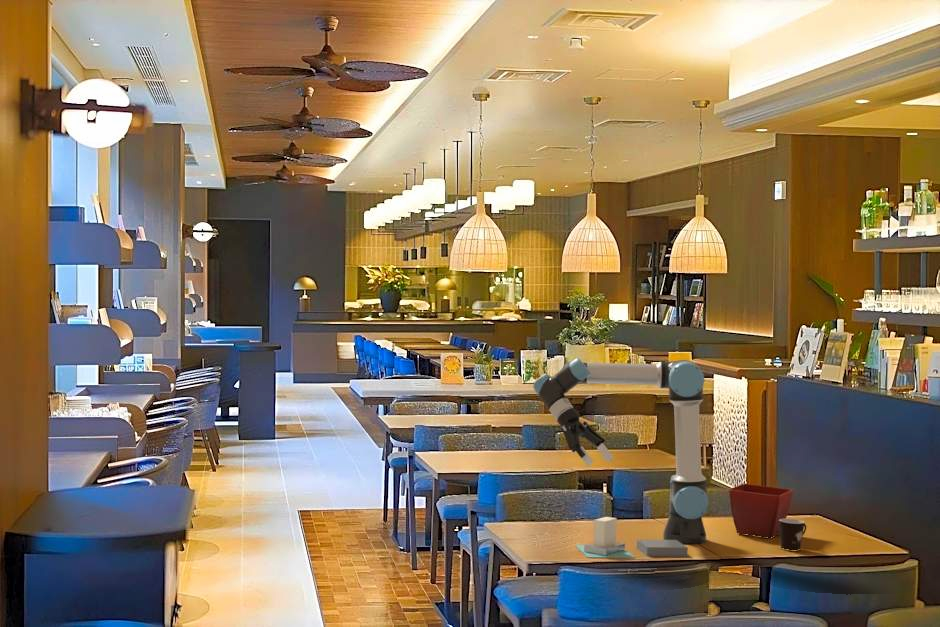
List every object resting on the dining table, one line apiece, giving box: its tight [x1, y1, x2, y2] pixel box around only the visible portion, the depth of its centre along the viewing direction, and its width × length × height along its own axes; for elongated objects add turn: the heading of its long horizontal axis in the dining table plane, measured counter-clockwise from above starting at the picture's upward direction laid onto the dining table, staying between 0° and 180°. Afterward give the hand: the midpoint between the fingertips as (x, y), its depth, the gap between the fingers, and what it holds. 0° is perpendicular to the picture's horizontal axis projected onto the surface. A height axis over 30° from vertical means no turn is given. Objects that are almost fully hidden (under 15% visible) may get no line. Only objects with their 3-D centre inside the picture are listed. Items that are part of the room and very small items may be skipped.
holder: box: [583, 541, 626, 556], centre depth 403 cm, size 8×12×2 cm
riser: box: [636, 539, 689, 557], centre depth 406 cm, size 12×14×3 cm
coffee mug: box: [779, 518, 807, 550], centre depth 419 cm, size 12×9×10 cm
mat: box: [574, 544, 636, 559], centre depth 403 cm, size 18×16×1 cm
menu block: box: [592, 516, 618, 548], centre depth 403 cm, size 4×8×10 cm, turn 143°
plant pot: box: [728, 483, 794, 538], centre depth 443 cm, size 19×19×17 cm
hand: (600, 462), depth 407 cm, fingers open, 13 cm apart
